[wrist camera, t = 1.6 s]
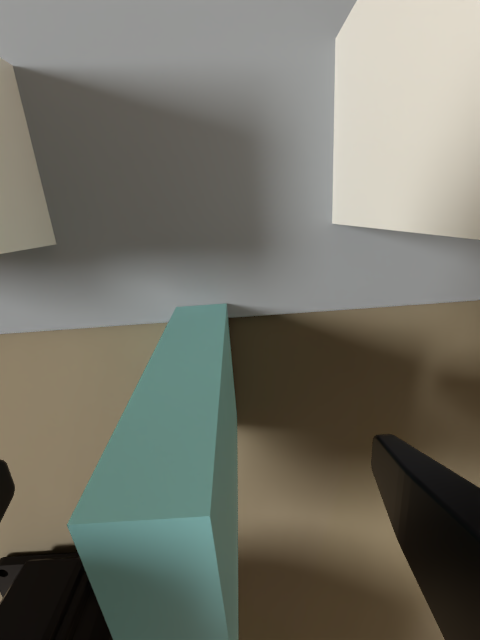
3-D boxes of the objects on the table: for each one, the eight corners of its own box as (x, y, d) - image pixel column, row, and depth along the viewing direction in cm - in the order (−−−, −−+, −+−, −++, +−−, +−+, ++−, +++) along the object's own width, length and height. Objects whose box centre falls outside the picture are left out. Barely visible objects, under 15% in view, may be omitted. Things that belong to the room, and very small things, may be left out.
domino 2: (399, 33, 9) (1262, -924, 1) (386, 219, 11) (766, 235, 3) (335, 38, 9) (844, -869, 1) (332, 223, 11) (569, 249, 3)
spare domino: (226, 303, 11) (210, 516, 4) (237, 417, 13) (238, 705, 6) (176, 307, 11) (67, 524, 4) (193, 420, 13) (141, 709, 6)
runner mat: (671, 284, 12) (682, 285, 11) (-321, 353, 12) (-335, 357, 12) (821, -140, 8) (843, -153, 8) (-570, -15, 9) (-598, -23, 8)
